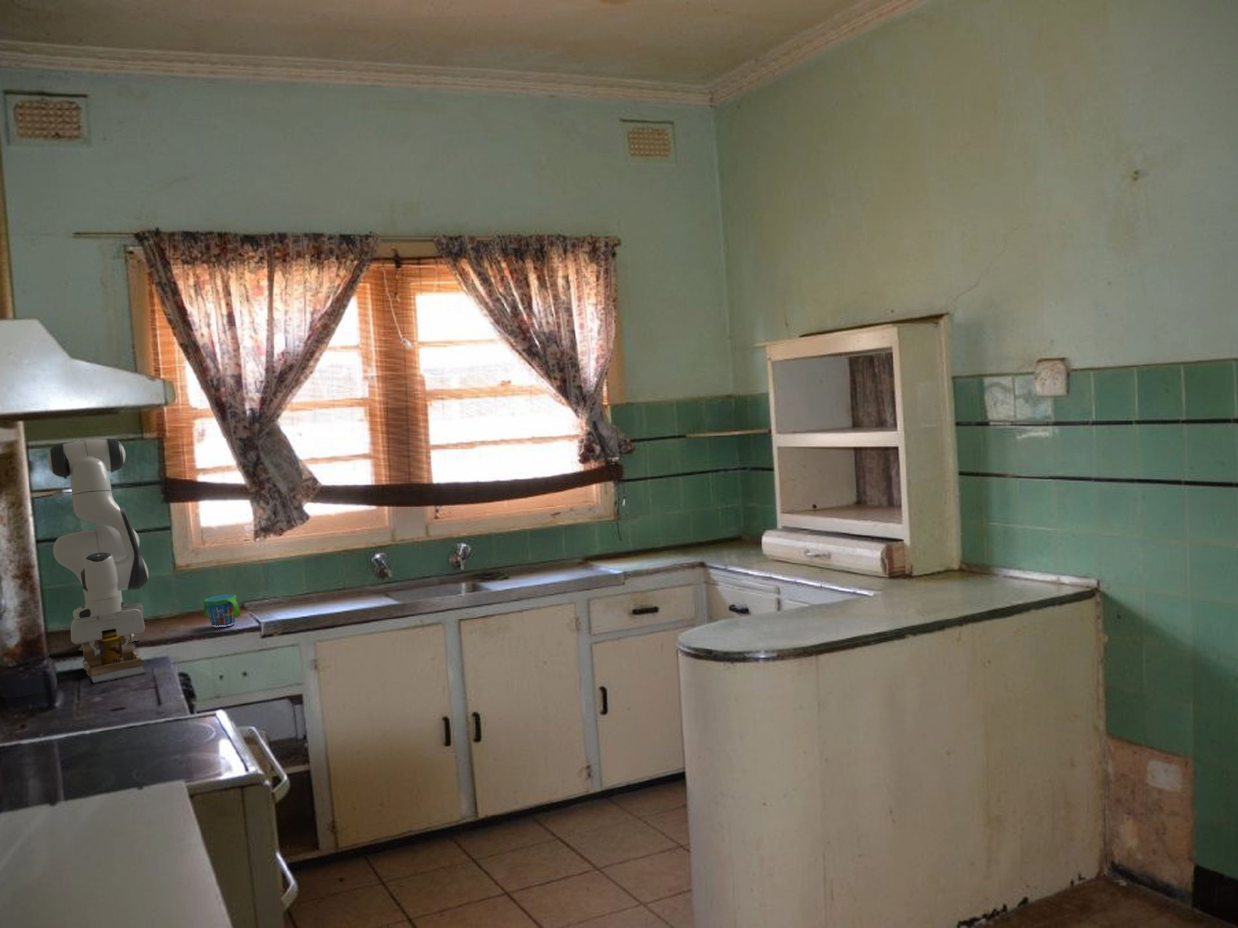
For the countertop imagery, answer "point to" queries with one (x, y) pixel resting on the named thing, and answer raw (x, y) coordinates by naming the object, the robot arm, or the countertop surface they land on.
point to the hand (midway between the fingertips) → (111, 652)
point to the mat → (118, 674)
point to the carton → (94, 661)
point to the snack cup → (221, 609)
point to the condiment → (110, 648)
